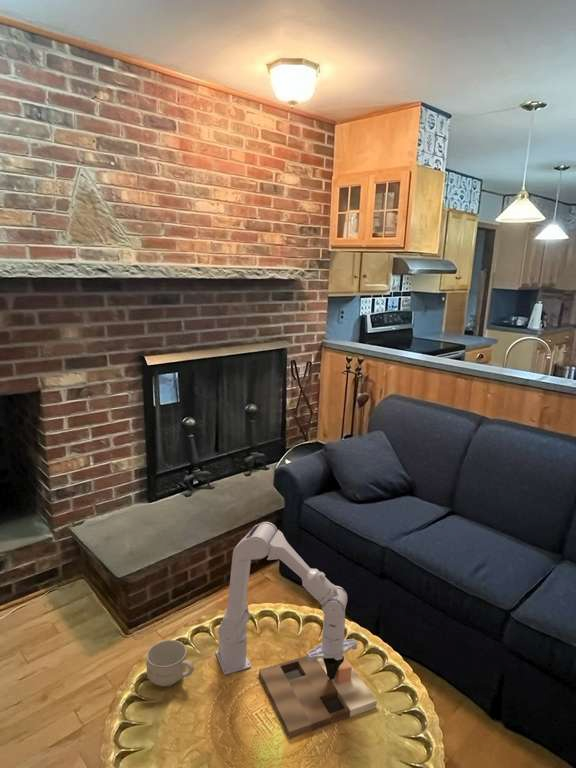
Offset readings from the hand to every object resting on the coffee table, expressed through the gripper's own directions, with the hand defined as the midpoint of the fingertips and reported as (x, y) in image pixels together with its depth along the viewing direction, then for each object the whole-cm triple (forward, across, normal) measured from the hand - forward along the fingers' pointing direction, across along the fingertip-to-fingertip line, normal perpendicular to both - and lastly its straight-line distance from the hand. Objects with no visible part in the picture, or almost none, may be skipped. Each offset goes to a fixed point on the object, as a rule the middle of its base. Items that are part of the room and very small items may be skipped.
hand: (330, 676), depth 134 cm
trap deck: (+3, -4, 0) cm, 5 cm away
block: (+1, +3, 0) cm, 3 cm away
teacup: (+3, -40, +18) cm, 44 cm away
